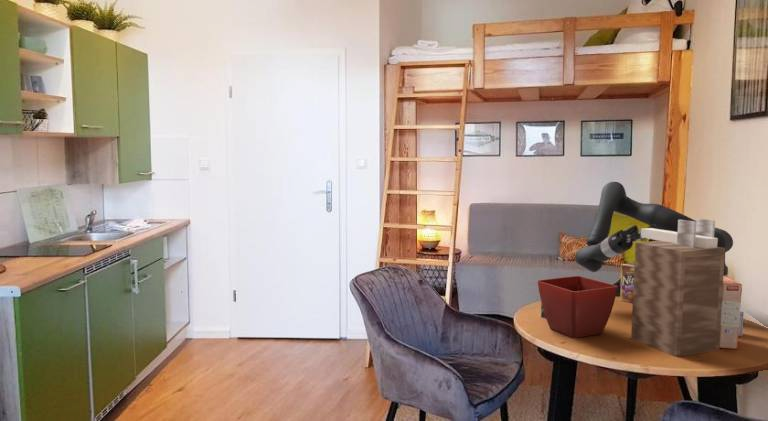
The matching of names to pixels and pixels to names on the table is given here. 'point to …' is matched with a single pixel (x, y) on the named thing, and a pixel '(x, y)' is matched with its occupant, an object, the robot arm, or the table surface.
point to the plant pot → (577, 304)
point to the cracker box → (730, 313)
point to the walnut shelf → (679, 292)
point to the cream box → (672, 237)
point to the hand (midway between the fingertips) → (646, 227)
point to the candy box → (627, 283)
